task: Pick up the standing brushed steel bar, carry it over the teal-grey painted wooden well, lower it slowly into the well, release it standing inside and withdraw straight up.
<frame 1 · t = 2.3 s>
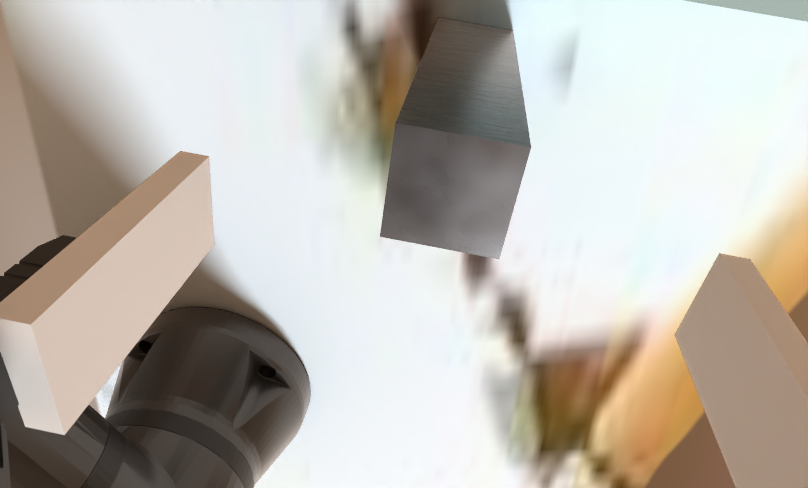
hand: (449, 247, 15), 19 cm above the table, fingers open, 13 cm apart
brushed steel bar: (468, 61, 31), on the table
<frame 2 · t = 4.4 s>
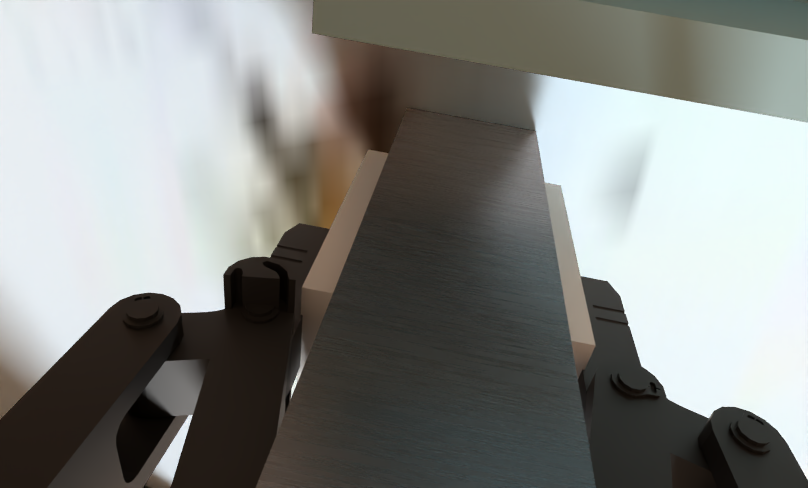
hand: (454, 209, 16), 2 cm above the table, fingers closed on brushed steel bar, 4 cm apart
brushed steel bar: (458, 177, 18), on the table, touching gripper
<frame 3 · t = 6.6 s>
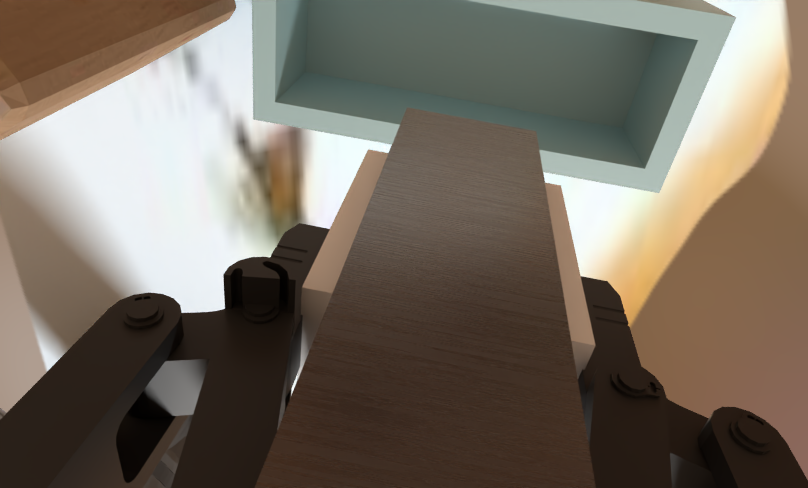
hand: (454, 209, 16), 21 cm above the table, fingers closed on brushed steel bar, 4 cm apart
well: (473, 41, 34), on the table
brushed steel bar: (458, 177, 18), point 19 cm above the table, touching gripper
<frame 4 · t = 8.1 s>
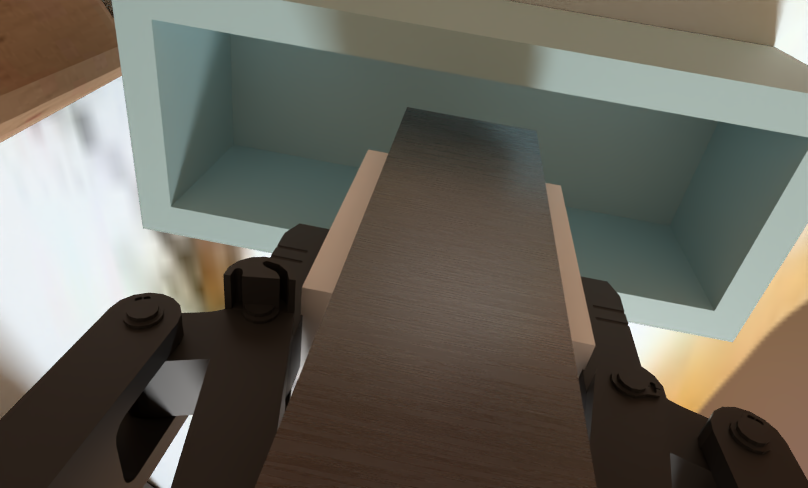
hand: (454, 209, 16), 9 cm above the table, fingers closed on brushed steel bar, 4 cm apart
well: (463, 107, 24), on the table
brushed steel bar: (458, 177, 18), point 7 cm above the table, touching gripper
when the fingers open (5 cm above the table, at t = 9.1 s): brushed steel bar drops 1 cm, resting on well.
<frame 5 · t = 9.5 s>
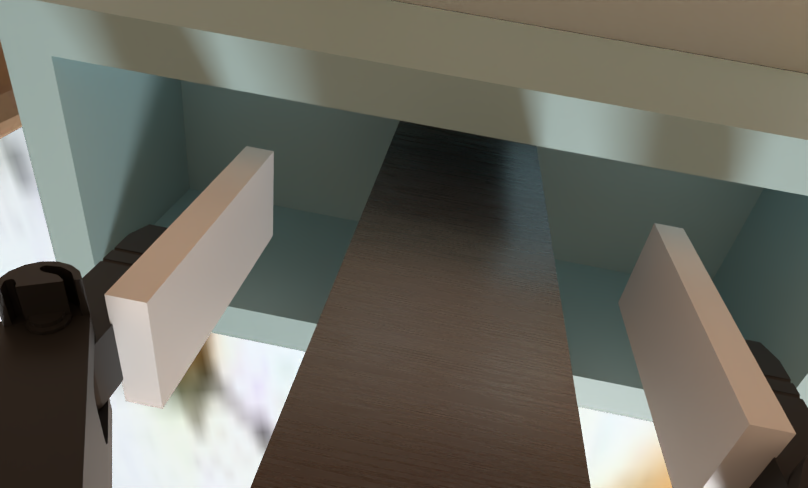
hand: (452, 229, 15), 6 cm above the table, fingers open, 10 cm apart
well: (462, 147, 20), on the table
brushed steel bar: (459, 159, 19), point 1 cm above the table, touching well
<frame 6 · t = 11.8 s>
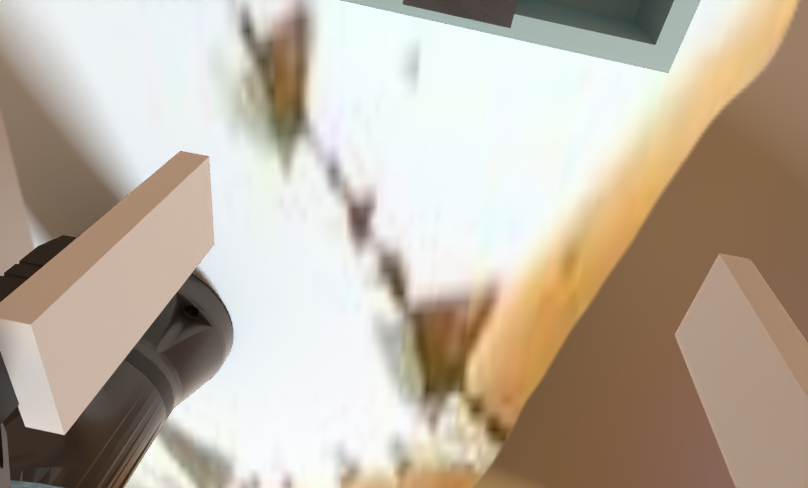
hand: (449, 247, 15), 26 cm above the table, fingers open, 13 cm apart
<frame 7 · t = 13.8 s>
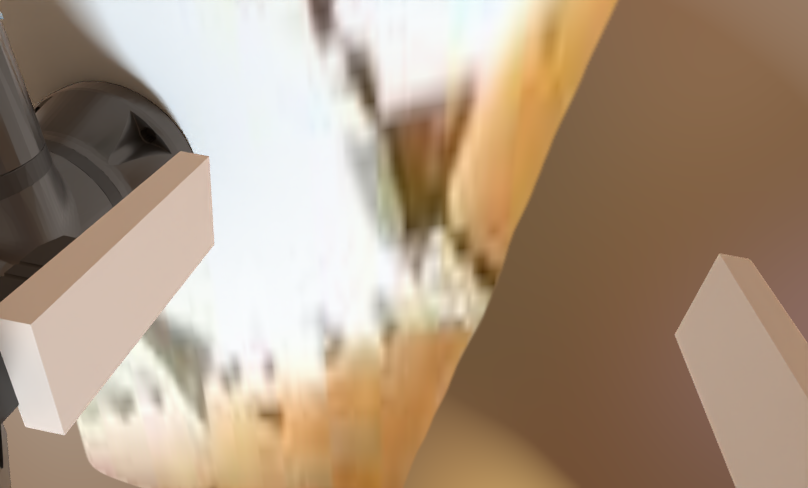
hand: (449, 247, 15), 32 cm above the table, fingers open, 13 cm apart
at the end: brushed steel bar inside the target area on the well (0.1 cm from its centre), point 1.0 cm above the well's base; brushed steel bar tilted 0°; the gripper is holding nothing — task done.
